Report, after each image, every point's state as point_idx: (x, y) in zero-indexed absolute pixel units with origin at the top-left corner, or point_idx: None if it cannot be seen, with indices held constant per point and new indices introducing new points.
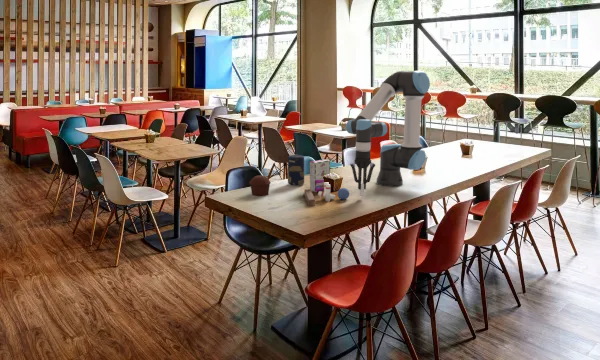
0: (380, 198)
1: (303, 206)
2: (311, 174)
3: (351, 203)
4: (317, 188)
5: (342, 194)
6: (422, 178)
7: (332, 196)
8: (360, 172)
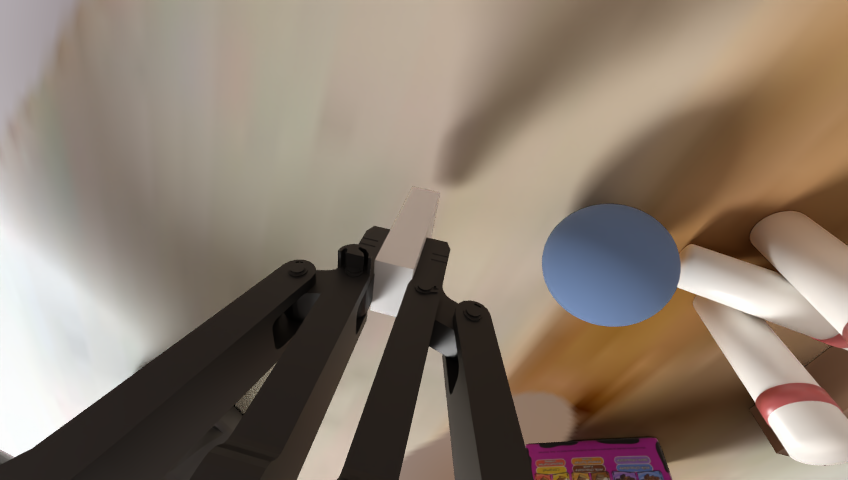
0: (269, 171)
1: None
2: None
3: (610, 63)
4: (643, 460)
5: (657, 225)
6: (65, 412)
7: (727, 262)
8: (381, 436)
